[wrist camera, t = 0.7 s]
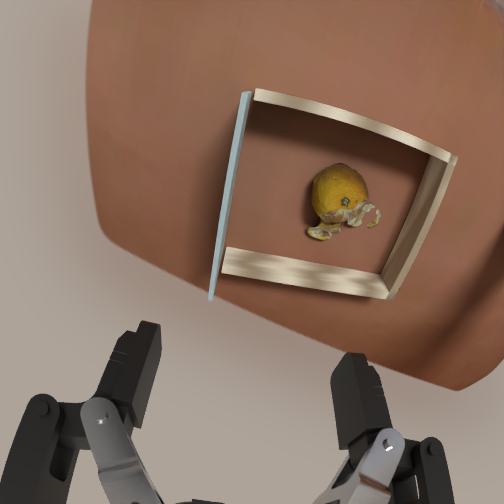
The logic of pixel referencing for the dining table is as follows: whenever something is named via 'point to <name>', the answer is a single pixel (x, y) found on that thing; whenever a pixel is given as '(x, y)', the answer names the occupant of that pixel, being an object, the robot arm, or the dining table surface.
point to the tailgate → (229, 187)
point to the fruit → (339, 200)
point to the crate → (407, 240)
